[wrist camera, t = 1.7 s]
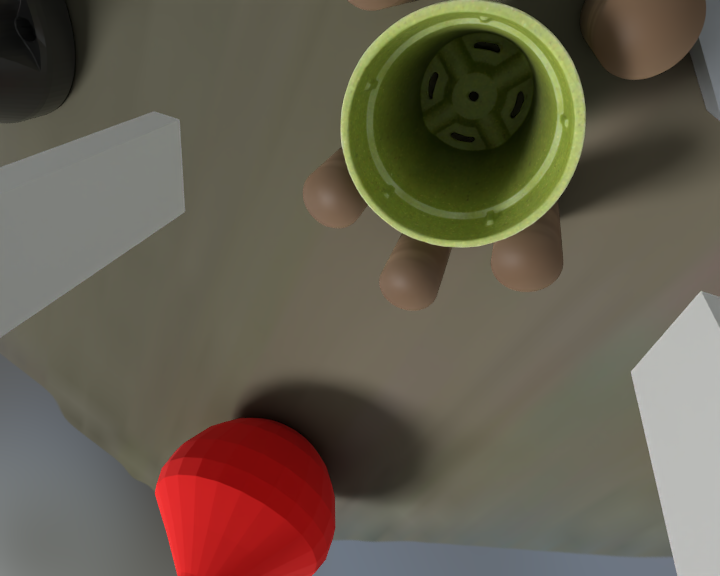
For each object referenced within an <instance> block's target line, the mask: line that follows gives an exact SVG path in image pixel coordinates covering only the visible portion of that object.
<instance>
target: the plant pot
mask: <svg viewBox="0 0 720 576" xmlns="http://www.w3.org/2000/svg"><path fill="white" fill-rule="evenodd" d="M477 42H487V43H494V44H496V45H498V46H499V48H500V52H499V53H496V52H494V51H490V50H486V49H478V48H474V45H475V44H476V43H477ZM435 72H436V73H438V75H439V76H438V78H437V81H436V84H435V88H434V93H433V98H432V99H430V97H429V94H428V86H429V81H430V78H431V76H432V75H433V74H434V73H435ZM473 91H475V92H477V93H478V94H479V98H478V99H477V100H476V101H471V100H470V99H469V94H470V93H471V92H473ZM520 91H522V92H523V94H524V102H523V104H522V106H521V109H520V112H519V113H518V115H517V116H516V117H514V118H511V116H510V114H511V112H512V110H513V108H514V106H515V104H516V100H517V95H518V93H519V92H520ZM585 128H586V107H585V99H584V93H583V89H582V85H581V81H580V78H579V75H578V73H577V70H576V68H575V65H574V63H573V61H572V59H571V57H570V56H569V54H568V52H567V51H566V49H565V48H564V46H563V45H562V44H561V42H560V41H559V40H558V39H557V38H556V36H555V35H554V34H553V33H552V32H551V31H550V30H549V29H548V28H547V27H545V26H544V25H543V24H542V23H540V22H539V21H538V20H536V19H535V18H533V17H532V16H530V15H529V14H527V13H525V12H523V11H521V10H519V9H517V8H514V7H511V6H509V5H506V4H503V3H499V2H495V1H489V0H450V1H444V2H440V3H436V4H433V5H430V6H427V7H424V8H421V9H419V10H417V11H415V12H413V13H411V14H409V15H407V16H405V17H403V18H402V19H400V20H399V21H397V22H396V23H395V24H393V25H392V26H391V27H389V28H388V29H387V30H386V31H384V32H383V33H382V34H381V35H380V36H379V37H378V38H377V39H376V40H375V41H374V42H373V43H372V44H371V45H370V47H369V48H368V49H367V50H366V51H365V53H364V54H363V56H362V57H361V59H360V60H359V62H358V64H357V66H356V68H355V70H354V71H353V74H352V76H351V78H350V81H349V83H348V87H347V90H346V93H345V96H344V100H343V105H342V112H341V143H342V149H343V154H344V157H345V161H346V164H347V168H348V171H349V174H350V176H351V178H352V181H353V182H354V184H355V186H356V188H357V190H358V192H359V193H360V195H361V196H362V197H363V199H364V200H365V202H366V203H367V204H368V206H369V207H370V208H371V209H372V210H373V211H374V212H375V213H376V214H377V215H378V216H379V217H381V218H382V219H383V220H384V221H386V222H387V223H388V224H389V225H391V226H392V227H393V228H395V229H396V230H398V231H400V232H401V233H403V234H405V235H407V236H409V237H411V238H414V239H417V240H419V241H423V242H427V243H429V244H433V245H438V246H444V247H476V246H482V245H485V244H489V243H494V242H497V241H500V240H503V239H506V238H508V237H510V236H513V235H515V234H517V233H518V232H520V231H522V230H524V229H525V228H527V227H528V226H530V225H532V224H533V223H534V222H536V221H537V220H538V219H539V218H541V217H542V216H543V215H544V214H545V213H546V212H547V211H548V210H549V209H550V208H551V207H552V206H553V205H554V204H555V203H556V201H557V200H558V199H559V198H560V196H561V195H562V193H563V192H564V190H565V189H566V187H567V186H568V184H569V182H570V180H571V178H572V176H573V174H574V172H575V169H576V167H577V164H578V162H579V159H580V156H581V152H582V148H583V143H584V138H585ZM453 132H455V133H457V134H461V135H463V136H468V137H474V139H475V140H474V141H473V142H471V143H470V142H465V141H457V140H455V139H453V138H452V137H451V133H453Z"/></svg>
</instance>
